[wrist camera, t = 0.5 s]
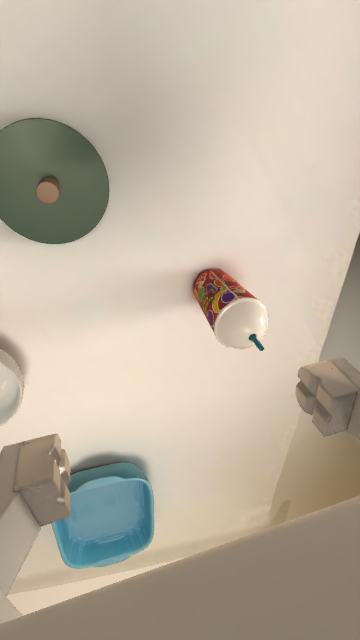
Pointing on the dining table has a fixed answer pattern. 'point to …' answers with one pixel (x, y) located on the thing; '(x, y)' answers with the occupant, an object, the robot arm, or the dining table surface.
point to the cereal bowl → (9, 387)
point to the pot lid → (50, 181)
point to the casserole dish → (106, 516)
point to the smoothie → (231, 310)
